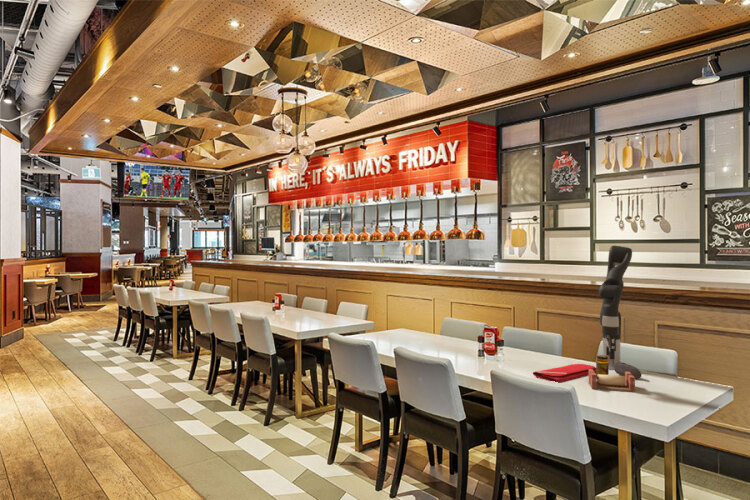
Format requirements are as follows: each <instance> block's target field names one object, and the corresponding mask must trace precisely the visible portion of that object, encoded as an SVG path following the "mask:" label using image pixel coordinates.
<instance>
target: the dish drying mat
mask: <svg viewBox="0 0 750 500" xmlns="http://www.w3.org/2000/svg"><path fill="white" fill-rule="evenodd" d="M588 369H593V371H594V372H595V374H596V366H594V365H591V364H585V363H571V364H568V365H567V364H566V365H564V366H559V367H554V368H548V369H542V370H537V371H533V372H532V375H533V376H534V377H536V378H537V379H540V380H544V381H549V382H551V381H555V382H558V383H562V381H563V382H566V381H567V382H568V381H570V380H574V379H579V378H581V377H582V378H583V377H585V376H586V377H588ZM555 382H554V383H555Z"/></svg>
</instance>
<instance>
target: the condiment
mask: <svg viewBox="0 0 750 500" xmlns="http://www.w3.org/2000/svg"><path fill="white" fill-rule="evenodd" d="M595 368H596V373H595V374H596V375H597V374H601V375H610V373H609V370H610V369H609V362H608V357H607V356H603V354H601V355H597V356H596V361H595Z"/></svg>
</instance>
